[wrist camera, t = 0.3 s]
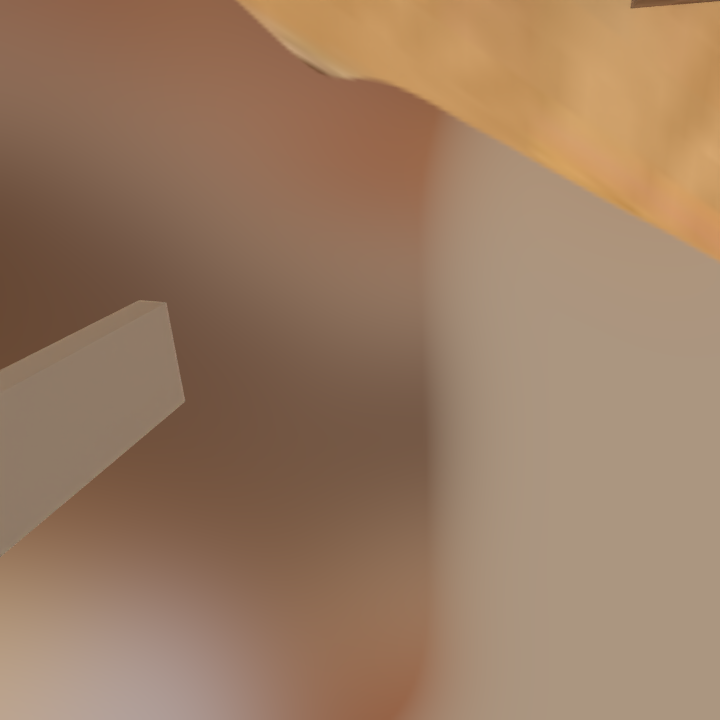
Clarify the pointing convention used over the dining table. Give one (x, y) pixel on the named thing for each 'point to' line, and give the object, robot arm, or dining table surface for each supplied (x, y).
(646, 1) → the socket block
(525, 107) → the dining table surface
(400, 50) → the dining table surface
